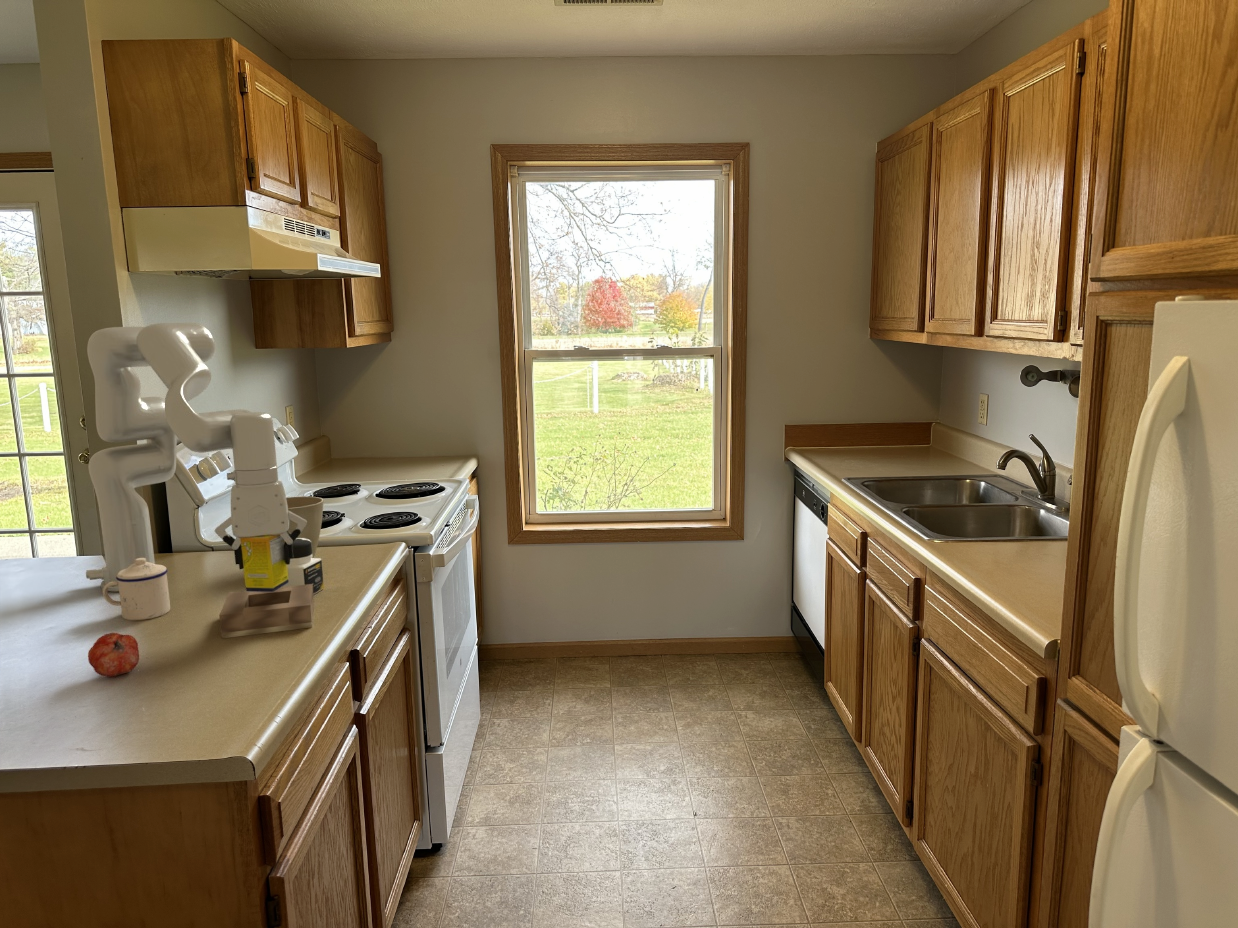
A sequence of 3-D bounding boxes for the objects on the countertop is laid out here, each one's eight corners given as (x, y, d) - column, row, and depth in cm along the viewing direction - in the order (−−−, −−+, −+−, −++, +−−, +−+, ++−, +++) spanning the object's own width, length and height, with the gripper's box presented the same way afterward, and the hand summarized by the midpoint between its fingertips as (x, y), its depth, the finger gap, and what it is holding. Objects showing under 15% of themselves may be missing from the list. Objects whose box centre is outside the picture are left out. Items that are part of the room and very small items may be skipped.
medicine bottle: (306, 599, 178) (301, 545, 176) (276, 597, 179) (271, 543, 177) (324, 589, 185) (320, 536, 183) (295, 587, 186) (290, 535, 184)
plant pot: (336, 567, 201) (330, 503, 198) (270, 579, 193) (264, 511, 190) (319, 554, 213) (314, 493, 210) (257, 564, 205) (251, 501, 202)
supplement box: (261, 582, 167) (256, 529, 166) (289, 582, 167) (284, 529, 165) (244, 591, 162) (239, 537, 160) (273, 592, 161) (268, 537, 159)
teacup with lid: (176, 604, 176) (170, 550, 174) (165, 618, 168) (158, 562, 166) (113, 610, 173) (106, 556, 171) (98, 625, 165) (91, 568, 163)
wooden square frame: (221, 638, 156) (219, 615, 156) (230, 614, 170) (228, 592, 169) (312, 627, 161) (310, 604, 161) (314, 604, 174) (312, 583, 174)
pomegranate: (87, 688, 141) (87, 669, 134) (88, 646, 144) (87, 626, 137) (138, 682, 145) (140, 663, 138) (137, 641, 148) (140, 621, 141)
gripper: (204, 484, 154) (214, 575, 157) (304, 476, 160) (311, 565, 163) (210, 477, 161) (219, 564, 164) (305, 470, 167) (313, 555, 170)
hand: (265, 564), depth 163 cm, fingers closed on supplement box, 7 cm apart
